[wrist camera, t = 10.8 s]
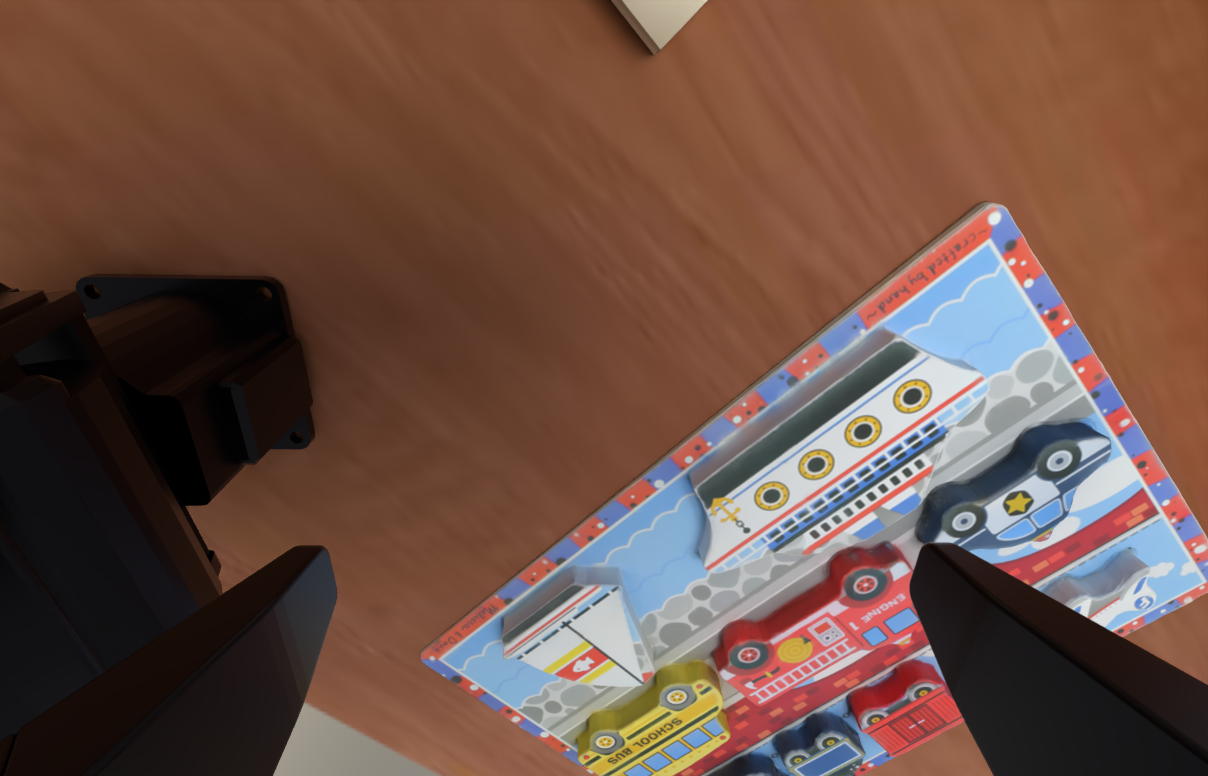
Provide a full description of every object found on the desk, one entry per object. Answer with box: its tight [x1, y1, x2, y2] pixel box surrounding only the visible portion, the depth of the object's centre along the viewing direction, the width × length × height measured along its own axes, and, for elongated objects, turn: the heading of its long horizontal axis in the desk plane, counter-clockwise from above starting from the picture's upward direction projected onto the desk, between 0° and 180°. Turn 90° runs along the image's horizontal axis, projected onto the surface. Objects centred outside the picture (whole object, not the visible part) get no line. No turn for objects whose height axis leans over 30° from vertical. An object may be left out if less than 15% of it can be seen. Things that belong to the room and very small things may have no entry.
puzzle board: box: [420, 201, 1208, 776], centre depth 27 cm, size 30×23×3 cm
